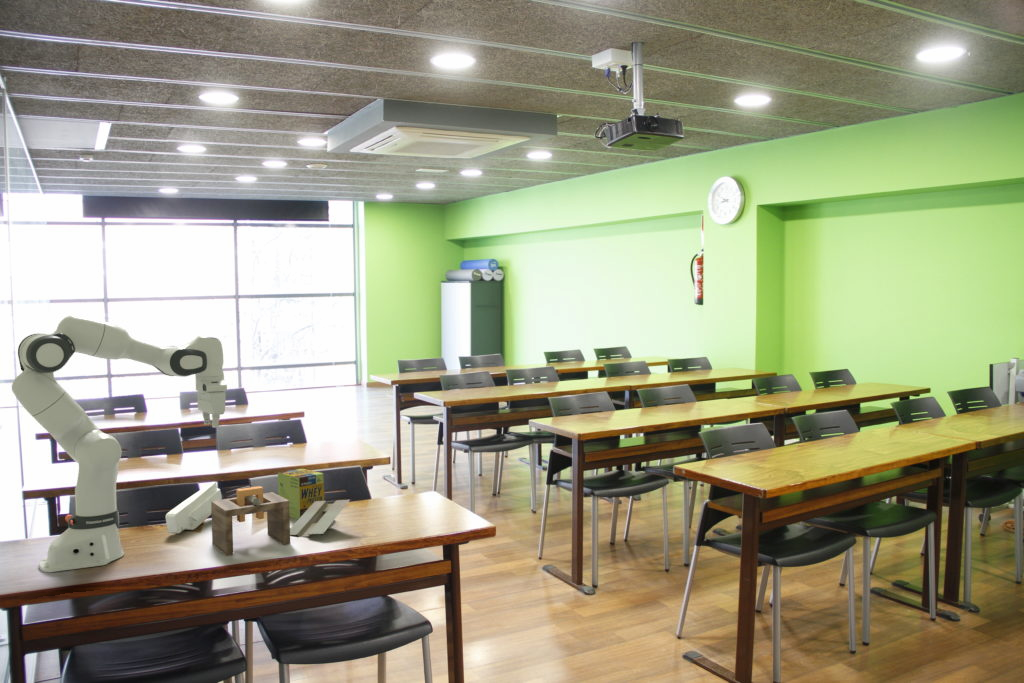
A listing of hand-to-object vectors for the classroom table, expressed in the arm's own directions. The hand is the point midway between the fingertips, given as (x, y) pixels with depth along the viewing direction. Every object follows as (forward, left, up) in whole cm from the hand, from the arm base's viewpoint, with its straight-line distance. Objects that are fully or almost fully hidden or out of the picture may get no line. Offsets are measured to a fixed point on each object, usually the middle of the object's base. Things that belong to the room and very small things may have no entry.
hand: (211, 426), depth 258 cm
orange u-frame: (+7, -17, -29) cm, 34 cm away
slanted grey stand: (+29, -18, -38) cm, 51 cm away
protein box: (+34, +10, -37) cm, 51 cm away
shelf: (+7, -17, -37) cm, 41 cm away
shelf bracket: (-1, +18, -38) cm, 42 cm away
